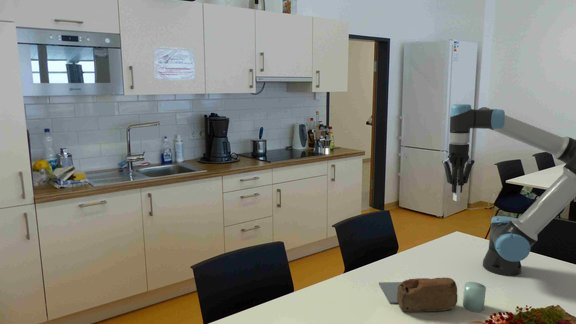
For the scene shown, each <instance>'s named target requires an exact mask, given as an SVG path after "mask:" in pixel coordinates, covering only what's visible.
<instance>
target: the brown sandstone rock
mask: <svg viewBox="0 0 576 324" xmlns="http://www.w3.org/2000/svg"><path fill="white" fill-rule="evenodd" d="M401 282H402V283H401V284H399V285H398V288H397V289H398V291H397V301H398V303H399V304H398V306H399V309H400V310H401V311H402V312H409V313H410V312H411V313H414V312H419V313H420V312H441V311H448V310H450V309H452V308H455V307H456V306H457V305H458V298H459V296H458V285H457V283H456V281H455V280H454V279H453V278H451V277H434V278H428V277H427V278H425V277H424V278H423V277H422V278H416V277H415V278H409V279H404V280H403V281H401Z"/></svg>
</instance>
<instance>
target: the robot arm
mask: <svg viewBox="0 0 576 324" xmlns="http://www.w3.org/2000/svg"><path fill="white" fill-rule="evenodd" d="M505 113H506V112H505V110H504V109H497V108H489V107H486V106H483V107H479V108H478V109H473V108H472V105H471V104H467V103H464V104H461V103H460V104H459V103H457V104H453V105H452V106H451V107H450V117H449V139H448V141H449V144H448V155H447V158H446V159H444V160H442V161H441V163H442V165H443V168H444V171H445V177H446V182H447V184H450V185H451V192H452V194H453V195H452V200H453V201H455V202H460V201H461V193H462V192H463V186H465V184H468V181H469V178H470V175H471V171H472V168H473V165H475V160H474V159H471V158H470V155H469V152H470V144H469V143H470V140H471V139H470V138H471V135H470V133H471V129H473V130H474V129H483V130H484V129H489V130H491V131H494V132H497V133H499V134H502V135H504V136H506V137H509V138H511V139H514V140H516V141H518V142H521V143H523V144H525V145H528V146H531V147H533V148H536V149H538V150H541V151H543V152H545V153H548V154H550V155H552V156H553V157H554V159H556V160H559V161H560V162H563V163H564V164H565V165H564V166H562V170H563V173H562V174H561V175H560V176H559V177H558V178H556V180H555V181H554V182H553V183H552V184H551V185H550V186H549V187H548V188H547V189H546V190H545V191H544V192H543V193H542V194H541V195H540V196H539V197H538V198H537V199H536V200H535V201H534V202H533V203H532V204H531V205H530V206H529V207H528V208H527V210H526V211H524V213H522V214H521V215H520V216H519V217H518V218H516V217H512V216H505V215H504V216H503V215H495V216H493V217H491V221H490V230H489V231H490V232H489V242H488V250H486V251H487V252H486V253H485V256H484V257H483V260H482V267H483V268H484V269H485V270H487V271H489V272H491V273H494V274H496V275H500V276H501V275H502V276H512V277H513V276H518V275H520V274H521V273H522V267H523V266H522V264H521V261H523V260H525V259H527V258H528V256H529V254H530V252H531V249H532V246H534V244H536V243H537V241H538V235H539V234H540V232H542V231H543V230H544V228H545V227H546V226H547V225H549V224H550V222H551V221H553V219H555V218H556V217H557V216H558V215H559V214H560V213H561V212H562V211H563V210H564V209H565V208H566V207H567V206H568V205H569V204H570V203H571V202H572V201H573V200H574V199H575V198H576V139H575V138H573V137H569V136H564V137H562V136H560V135H558V134H554V133H552V132H550V131H547V130H544V129H541V128H540V127H537V126H534V125H532V124H529V123H527V122H524V121H522V120H519V119H517V118H514V117H512V116H509V115H507V114H506V115H505Z"/></svg>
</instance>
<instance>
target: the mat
mask: <svg viewBox="0 0 576 324" xmlns="http://www.w3.org/2000/svg"><path fill="white" fill-rule="evenodd" d="M402 282H403V281H398V282H397V281H395V282H394V281H391V282H390V281H389V282H383V281H381V282H378V285H379V287H380V289H381V290H382V292H383V294H384V296H385V297H386V299H387V301H388V303H389V304H390V305H399V303H398V301H397V291H398V289H397V288H398V285H399V284H401V283H402Z"/></svg>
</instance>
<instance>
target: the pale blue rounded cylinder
mask: <svg viewBox="0 0 576 324" xmlns="http://www.w3.org/2000/svg"><path fill="white" fill-rule="evenodd" d="M463 288H464V289H463V299H462V308H464V309H465V310H467V311H470V312H474V313H481V312H483V311H484V310H485V302H486V300H485V299H486V291H487V287H486V286H485V285H484V284H482V283H480V282H477V281H476V282H475V281H467V282H465V283H464V286H463Z"/></svg>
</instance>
